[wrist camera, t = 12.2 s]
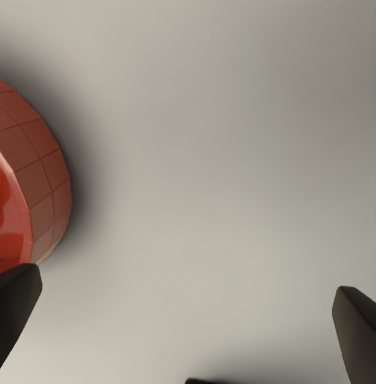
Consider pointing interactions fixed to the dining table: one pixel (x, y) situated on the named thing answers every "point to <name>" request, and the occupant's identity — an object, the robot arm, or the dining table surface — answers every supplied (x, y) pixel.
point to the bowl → (29, 184)
